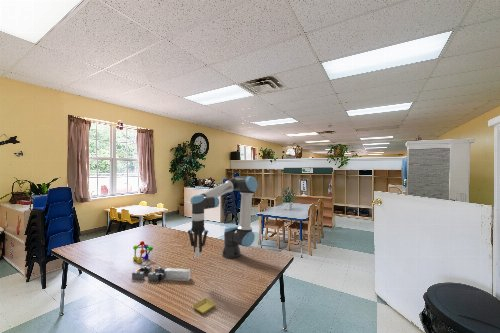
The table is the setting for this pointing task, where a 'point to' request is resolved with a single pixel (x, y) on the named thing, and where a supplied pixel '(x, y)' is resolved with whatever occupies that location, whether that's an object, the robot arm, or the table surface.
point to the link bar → (177, 274)
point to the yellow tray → (204, 305)
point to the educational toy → (142, 252)
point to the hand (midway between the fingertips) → (197, 257)
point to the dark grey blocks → (149, 273)
